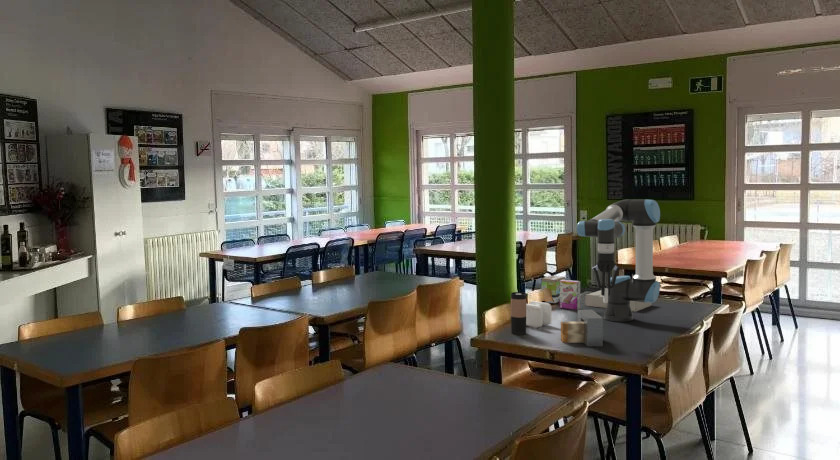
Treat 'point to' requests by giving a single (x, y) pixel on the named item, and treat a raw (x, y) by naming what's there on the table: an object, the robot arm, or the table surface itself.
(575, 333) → the bar
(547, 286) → the tea box
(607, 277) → the robot arm
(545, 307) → the cable organizer
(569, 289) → the candy bar box
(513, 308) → the travel mug
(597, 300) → the box
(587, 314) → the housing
